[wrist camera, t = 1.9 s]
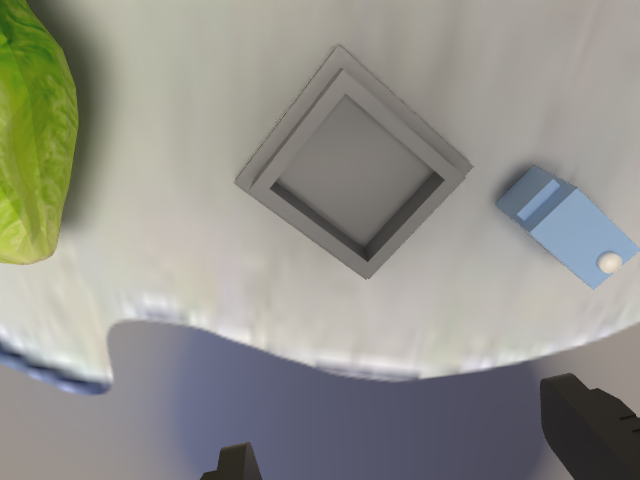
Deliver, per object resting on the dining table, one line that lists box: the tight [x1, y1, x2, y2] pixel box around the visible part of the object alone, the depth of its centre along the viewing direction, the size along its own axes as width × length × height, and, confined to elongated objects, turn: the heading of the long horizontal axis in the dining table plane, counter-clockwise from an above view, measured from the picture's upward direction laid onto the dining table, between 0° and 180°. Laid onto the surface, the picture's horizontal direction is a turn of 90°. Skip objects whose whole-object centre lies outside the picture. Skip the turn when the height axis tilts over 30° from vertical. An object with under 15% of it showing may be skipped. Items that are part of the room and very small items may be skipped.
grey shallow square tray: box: [234, 45, 474, 279], centre depth 32 cm, size 12×13×4 cm
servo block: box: [495, 165, 640, 290], centre depth 32 cm, size 4×9×7 cm, turn 51°
